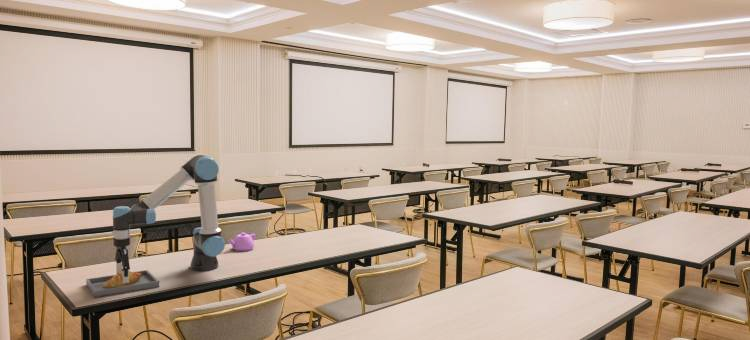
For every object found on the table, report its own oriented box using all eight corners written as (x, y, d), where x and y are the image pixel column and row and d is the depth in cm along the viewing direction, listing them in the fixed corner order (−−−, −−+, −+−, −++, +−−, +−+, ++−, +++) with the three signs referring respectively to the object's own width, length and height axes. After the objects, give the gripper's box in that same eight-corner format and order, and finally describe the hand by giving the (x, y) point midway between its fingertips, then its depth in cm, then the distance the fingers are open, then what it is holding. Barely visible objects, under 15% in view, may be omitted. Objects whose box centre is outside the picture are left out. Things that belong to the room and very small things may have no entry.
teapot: (222, 249, 335) (222, 233, 334) (249, 244, 350) (249, 229, 349) (234, 253, 326) (234, 237, 325) (261, 248, 340) (261, 232, 339)
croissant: (106, 297, 251) (110, 285, 248) (95, 285, 255) (99, 272, 252) (145, 285, 269) (149, 273, 267) (133, 273, 273) (138, 261, 270)
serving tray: (147, 275, 279) (147, 269, 278) (159, 286, 261) (159, 281, 261) (86, 284, 261) (86, 279, 261) (94, 297, 244) (94, 291, 243)
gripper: (108, 233, 266) (109, 273, 268) (119, 243, 246) (120, 287, 249) (124, 231, 271) (124, 271, 273) (136, 241, 251) (136, 284, 253)
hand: (122, 279), depth 261 cm, fingers open, 13 cm apart
